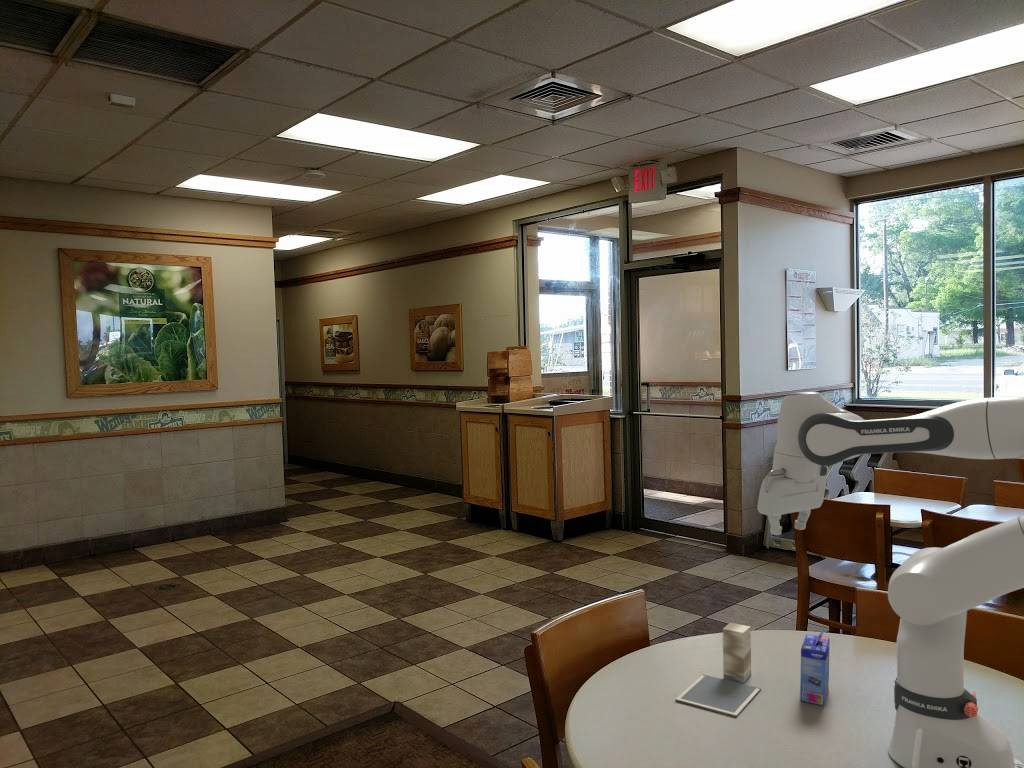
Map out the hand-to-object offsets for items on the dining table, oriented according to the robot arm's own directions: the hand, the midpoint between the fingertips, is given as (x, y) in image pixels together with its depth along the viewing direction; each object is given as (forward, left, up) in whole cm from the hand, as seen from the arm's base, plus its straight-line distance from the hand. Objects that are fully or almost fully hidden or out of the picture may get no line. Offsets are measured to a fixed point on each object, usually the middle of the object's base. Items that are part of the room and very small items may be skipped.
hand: (787, 531), depth 158 cm
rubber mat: (+16, -1, -40) cm, 43 cm away
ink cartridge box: (-2, -13, -40) cm, 42 cm away
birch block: (+16, -13, -40) cm, 45 cm away
